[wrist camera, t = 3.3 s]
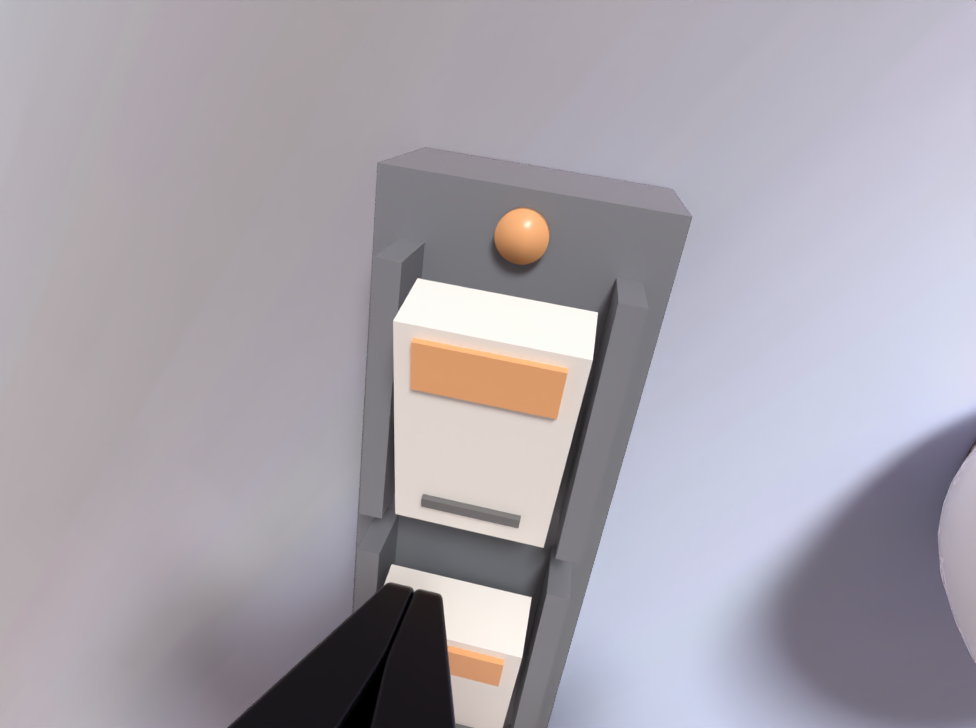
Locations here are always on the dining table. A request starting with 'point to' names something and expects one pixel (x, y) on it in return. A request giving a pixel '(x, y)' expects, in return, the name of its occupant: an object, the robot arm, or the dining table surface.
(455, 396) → the block
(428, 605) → the robot arm
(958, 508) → the lidded jar
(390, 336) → the rocker switch panel
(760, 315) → the dining table surface
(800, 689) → the dining table surface
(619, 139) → the dining table surface
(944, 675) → the dining table surface
